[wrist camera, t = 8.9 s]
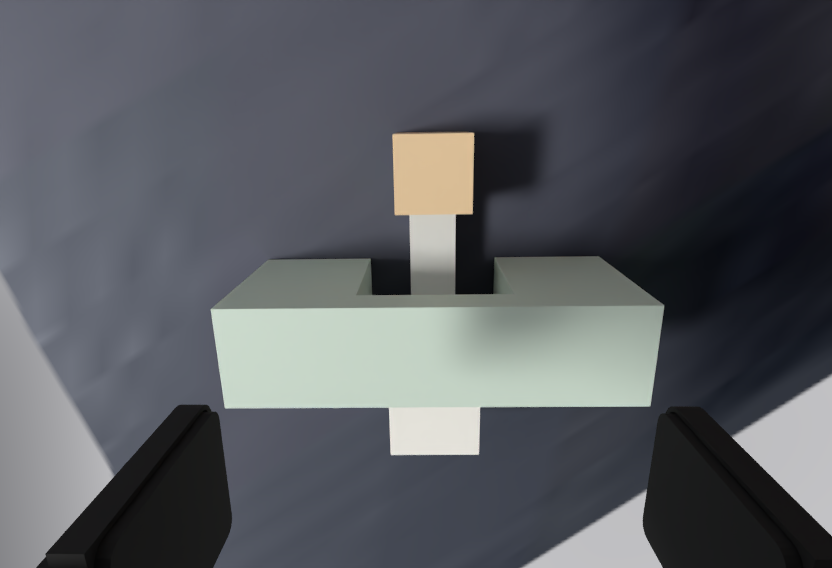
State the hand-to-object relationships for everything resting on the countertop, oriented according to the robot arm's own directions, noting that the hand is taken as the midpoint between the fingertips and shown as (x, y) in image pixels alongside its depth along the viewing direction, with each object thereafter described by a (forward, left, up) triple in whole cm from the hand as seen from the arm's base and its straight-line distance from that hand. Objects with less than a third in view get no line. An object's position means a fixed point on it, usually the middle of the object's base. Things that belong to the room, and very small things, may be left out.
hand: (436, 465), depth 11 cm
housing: (+1, 0, -15) cm, 15 cm away
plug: (0, 0, -15) cm, 15 cm away
